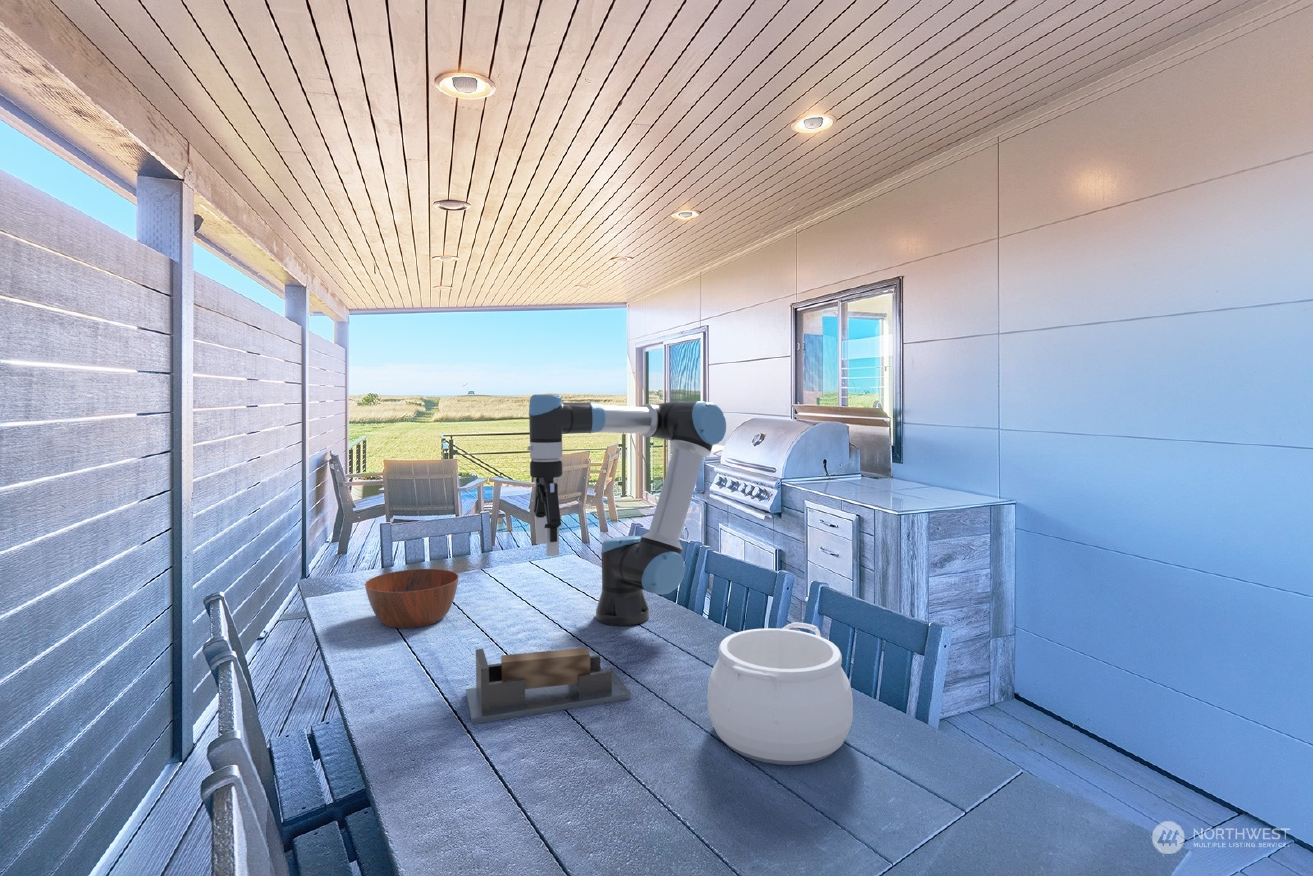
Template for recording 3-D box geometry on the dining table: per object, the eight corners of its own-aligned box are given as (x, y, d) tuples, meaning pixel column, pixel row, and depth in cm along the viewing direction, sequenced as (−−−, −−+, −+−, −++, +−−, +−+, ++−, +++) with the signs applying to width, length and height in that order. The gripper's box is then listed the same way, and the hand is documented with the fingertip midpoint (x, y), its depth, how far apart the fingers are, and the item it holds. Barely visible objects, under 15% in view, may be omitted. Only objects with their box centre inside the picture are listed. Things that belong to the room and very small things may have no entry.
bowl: (345, 627, 186) (344, 586, 185) (410, 602, 209) (409, 565, 208) (417, 640, 176) (416, 596, 176) (477, 611, 199) (476, 573, 199)
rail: (587, 674, 146) (587, 647, 146) (590, 682, 142) (590, 654, 142) (501, 683, 142) (501, 655, 141) (502, 691, 138) (501, 662, 138)
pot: (823, 796, 107) (824, 689, 106) (677, 750, 121) (677, 655, 120) (871, 722, 131) (872, 634, 130) (745, 691, 145) (746, 611, 144)
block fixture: (611, 673, 154) (611, 630, 154) (630, 699, 141) (630, 651, 141) (466, 694, 143) (465, 648, 143) (471, 724, 130) (471, 673, 130)
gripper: (521, 456, 170) (522, 540, 171) (539, 465, 147) (540, 562, 148) (551, 455, 173) (552, 538, 174) (573, 464, 149) (574, 559, 150)
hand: (547, 549), depth 161 cm, fingers open, 13 cm apart
